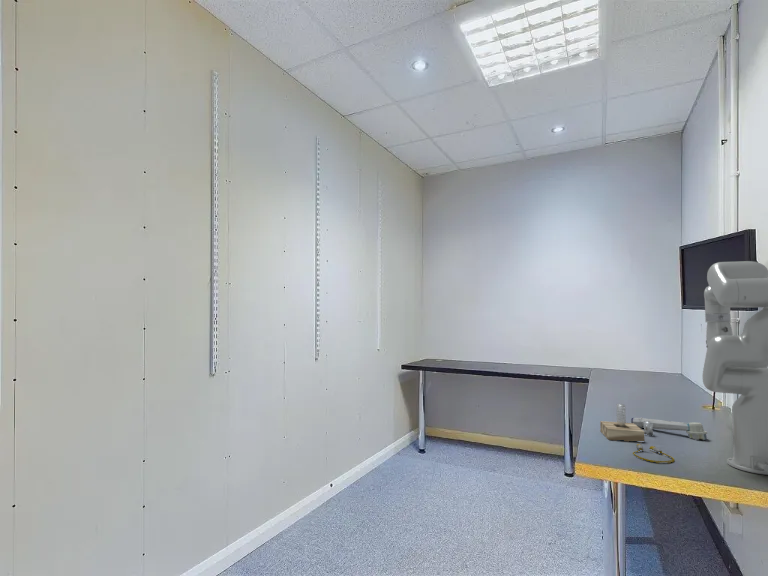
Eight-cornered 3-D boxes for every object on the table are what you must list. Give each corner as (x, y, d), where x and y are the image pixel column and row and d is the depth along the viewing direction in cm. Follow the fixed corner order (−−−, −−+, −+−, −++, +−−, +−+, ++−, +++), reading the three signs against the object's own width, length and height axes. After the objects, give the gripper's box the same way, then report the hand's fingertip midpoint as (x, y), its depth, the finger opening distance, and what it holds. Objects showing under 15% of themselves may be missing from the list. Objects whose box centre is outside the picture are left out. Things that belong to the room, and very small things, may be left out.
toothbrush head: (634, 416, 179) (706, 419, 160) (637, 432, 178) (709, 438, 159) (629, 418, 175) (702, 421, 157) (632, 434, 174) (706, 440, 156)
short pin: (654, 436, 162) (653, 423, 162) (645, 435, 163) (645, 422, 163) (651, 434, 165) (651, 421, 165) (642, 433, 166) (642, 420, 166)
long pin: (627, 438, 159) (626, 405, 160) (618, 437, 160) (617, 405, 161) (624, 435, 162) (624, 404, 163) (616, 435, 163) (615, 403, 164)
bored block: (644, 442, 154) (644, 431, 154) (608, 439, 157) (608, 428, 157) (634, 433, 165) (633, 423, 166) (600, 431, 168) (600, 421, 169)
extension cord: (679, 456, 141) (679, 450, 141) (670, 468, 129) (670, 461, 130) (637, 447, 149) (637, 442, 149) (626, 458, 138) (626, 452, 138)
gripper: (742, 319, 150) (744, 367, 149) (717, 318, 167) (719, 362, 166) (717, 318, 152) (719, 366, 151) (695, 318, 169) (697, 361, 168)
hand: (719, 364), depth 159 cm, fingers open, 9 cm apart
